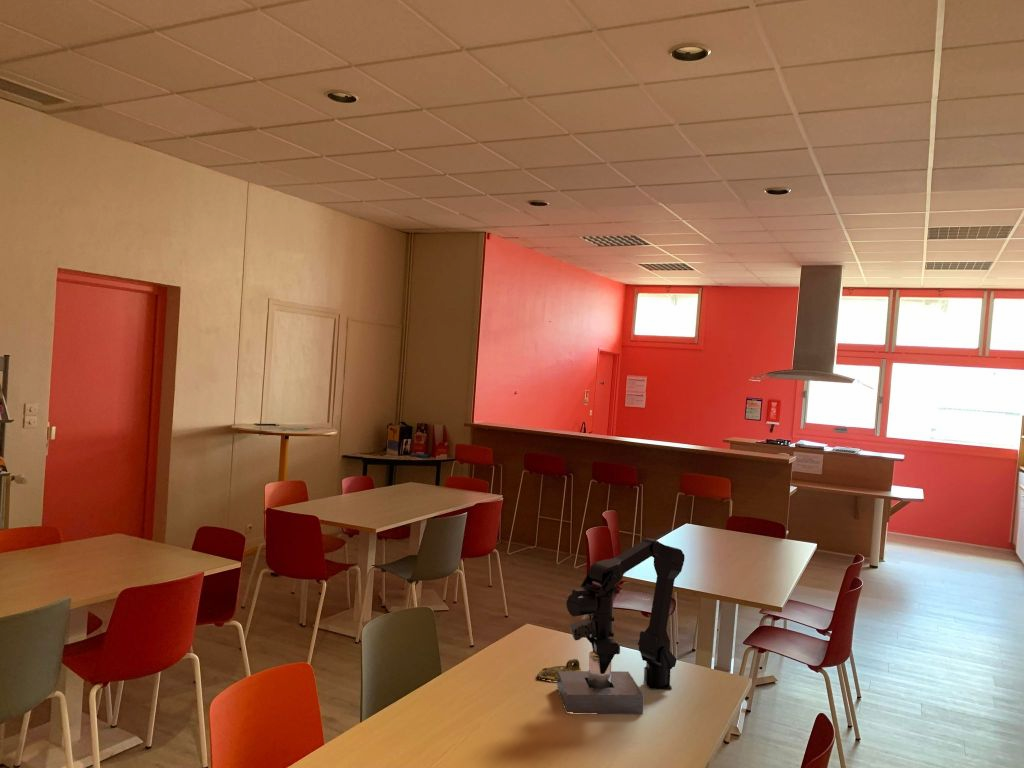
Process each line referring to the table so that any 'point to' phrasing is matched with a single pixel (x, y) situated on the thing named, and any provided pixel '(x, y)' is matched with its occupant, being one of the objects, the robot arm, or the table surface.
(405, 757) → the table surface
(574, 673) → the housing
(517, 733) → the table surface
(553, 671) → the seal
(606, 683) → the end cover
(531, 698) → the table surface
